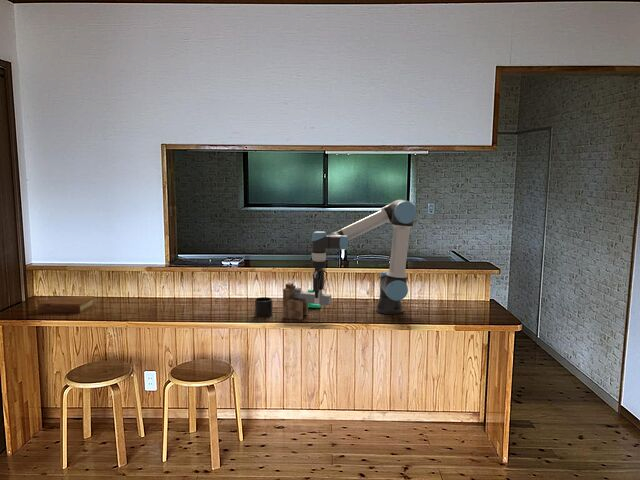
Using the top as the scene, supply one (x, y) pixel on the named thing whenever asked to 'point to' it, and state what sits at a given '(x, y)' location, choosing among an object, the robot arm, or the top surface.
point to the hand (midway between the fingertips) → (318, 302)
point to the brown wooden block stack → (293, 304)
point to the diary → (66, 304)
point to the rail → (311, 297)
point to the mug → (263, 307)
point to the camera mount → (313, 304)
